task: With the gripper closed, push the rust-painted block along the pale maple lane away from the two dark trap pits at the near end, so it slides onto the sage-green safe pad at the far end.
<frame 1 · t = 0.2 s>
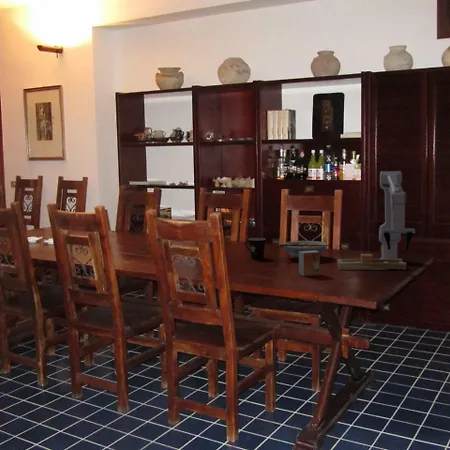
hand: (397, 249, 273), 10 cm above the table, fingers open, 7 cm apart
small box: (309, 275, 272), on the table
trap lane: (371, 267, 285), on the table
ramen bowl: (304, 258, 313), on the table
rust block: (366, 263, 285), point 2 cm above the table, touching trap lane
coffee mug: (256, 258, 317), on the table
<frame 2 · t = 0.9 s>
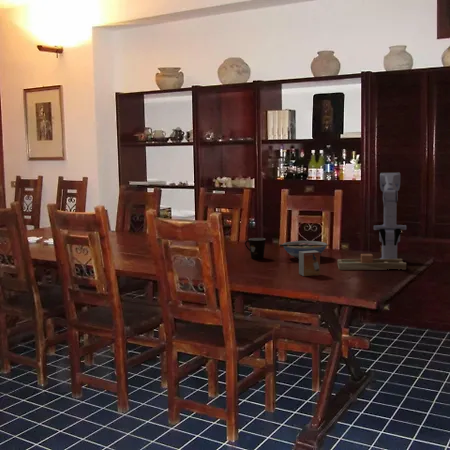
hand: (389, 245, 283), 10 cm above the table, fingers open, 4 cm apart
nothing on the table moved.
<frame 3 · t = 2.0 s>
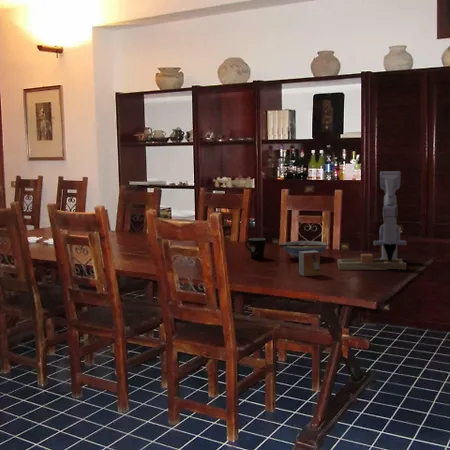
hand: (389, 260, 283), 3 cm above the table, fingers closed
nothing on the table moved.
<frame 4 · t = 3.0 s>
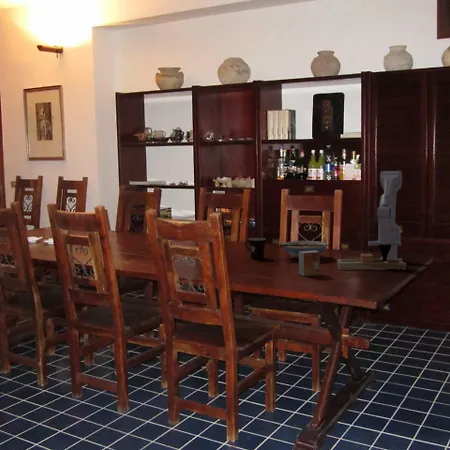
hand: (384, 260, 284), 3 cm above the table, fingers closed
nothing on the table moved.
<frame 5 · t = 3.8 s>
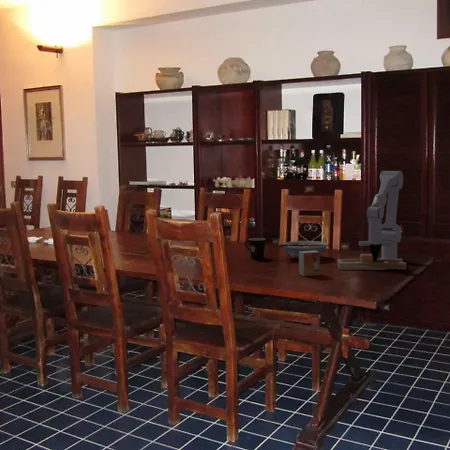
hand: (374, 261, 284), 3 cm above the table, fingers closed
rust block: (366, 263, 285), point 2 cm above the table, touching gripper
everything else where it was.
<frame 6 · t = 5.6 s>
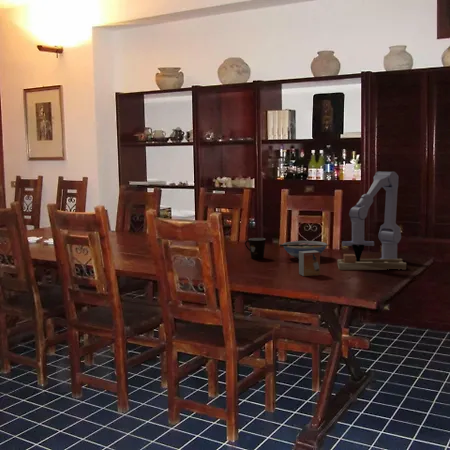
hand: (358, 261, 285), 3 cm above the table, fingers closed
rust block: (349, 263, 286), point 2 cm above the table, touching gripper
everything else where it was.
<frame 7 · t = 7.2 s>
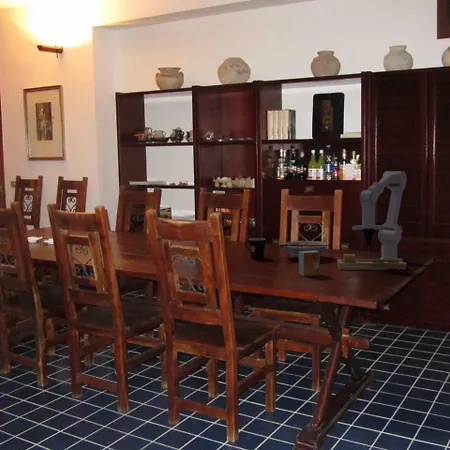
hand: (368, 245, 284), 10 cm above the table, fingers closed
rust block: (349, 263, 286), point 2 cm above the table, touching trap lane
everything else where it was.
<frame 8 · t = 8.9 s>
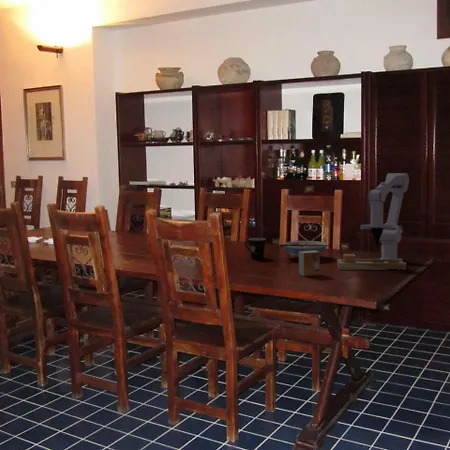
hand: (376, 244, 286), 10 cm above the table, fingers closed
nothing on the table moved.
at the end: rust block 0.6 cm from the target spot on the trap lane, point 2.0 cm above the trap lane's base; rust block tilted 0°; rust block moved 7.9 cm from its start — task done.
